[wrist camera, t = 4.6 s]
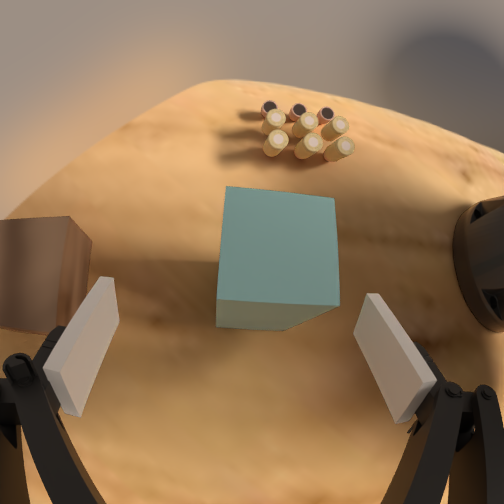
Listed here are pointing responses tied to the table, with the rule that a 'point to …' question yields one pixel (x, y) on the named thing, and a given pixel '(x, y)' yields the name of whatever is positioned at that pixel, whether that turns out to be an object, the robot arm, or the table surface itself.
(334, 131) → the ammunition
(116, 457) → the table surface
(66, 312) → the walnut base
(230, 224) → the teal block
